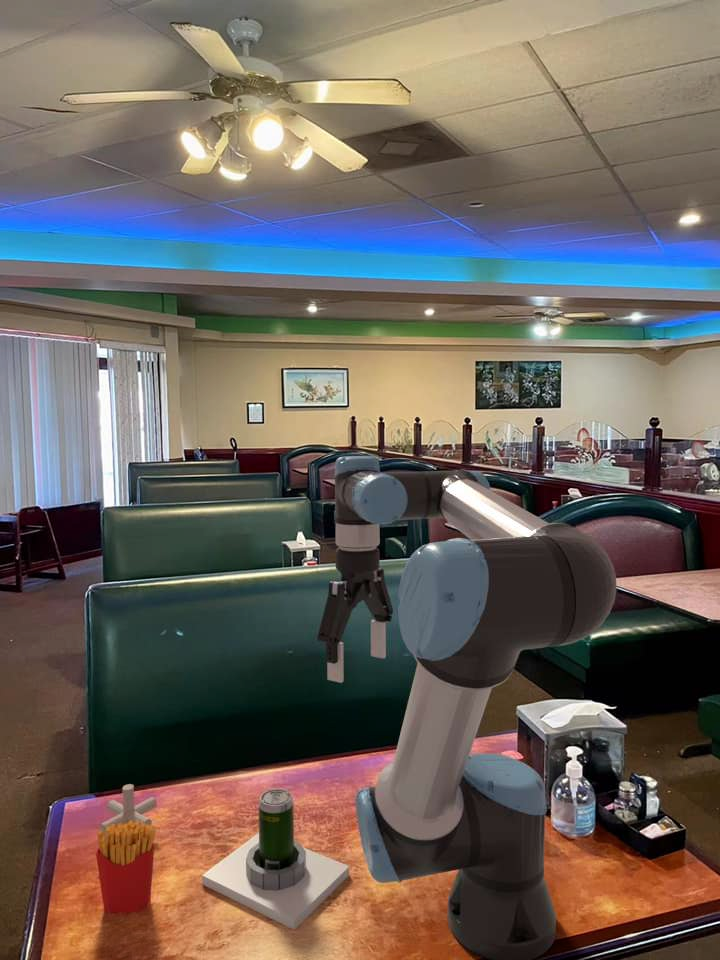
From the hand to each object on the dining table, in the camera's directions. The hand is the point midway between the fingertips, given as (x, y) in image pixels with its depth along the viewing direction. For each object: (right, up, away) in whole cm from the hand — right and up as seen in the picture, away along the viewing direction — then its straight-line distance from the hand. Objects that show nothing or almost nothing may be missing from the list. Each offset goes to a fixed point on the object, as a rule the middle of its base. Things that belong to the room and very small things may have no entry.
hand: (357, 668), depth 121 cm
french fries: (-34, -31, -17) cm, 49 cm away
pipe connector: (-39, -29, -2) cm, 49 cm away
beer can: (-13, -29, -12) cm, 33 cm away
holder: (-13, -30, -12) cm, 35 cm away
